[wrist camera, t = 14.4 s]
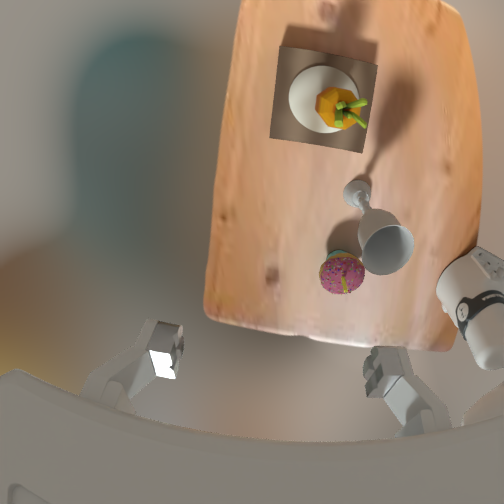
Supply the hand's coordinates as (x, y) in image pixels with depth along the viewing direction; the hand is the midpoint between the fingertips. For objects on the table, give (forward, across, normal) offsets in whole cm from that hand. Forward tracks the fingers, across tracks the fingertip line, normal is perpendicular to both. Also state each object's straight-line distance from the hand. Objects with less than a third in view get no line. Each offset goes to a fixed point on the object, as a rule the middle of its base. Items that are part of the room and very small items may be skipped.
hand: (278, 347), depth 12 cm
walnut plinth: (+39, +5, +8) cm, 40 cm away
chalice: (+39, +14, -7) cm, 42 cm away
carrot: (+35, +5, +8) cm, 36 cm away
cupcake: (+39, +14, -21) cm, 47 cm away
